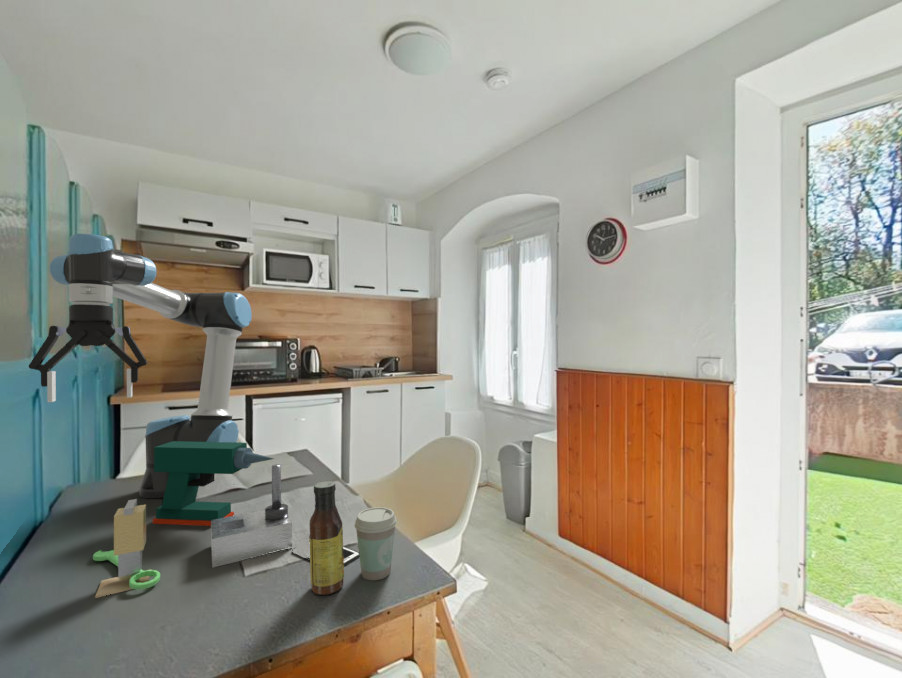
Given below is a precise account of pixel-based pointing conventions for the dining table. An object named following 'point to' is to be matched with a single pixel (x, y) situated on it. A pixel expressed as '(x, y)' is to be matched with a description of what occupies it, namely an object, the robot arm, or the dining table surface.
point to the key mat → (117, 585)
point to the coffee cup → (375, 541)
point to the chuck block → (252, 530)
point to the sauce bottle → (326, 542)
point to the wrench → (114, 559)
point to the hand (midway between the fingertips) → (92, 399)
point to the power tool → (197, 478)
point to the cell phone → (348, 555)
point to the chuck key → (129, 537)
